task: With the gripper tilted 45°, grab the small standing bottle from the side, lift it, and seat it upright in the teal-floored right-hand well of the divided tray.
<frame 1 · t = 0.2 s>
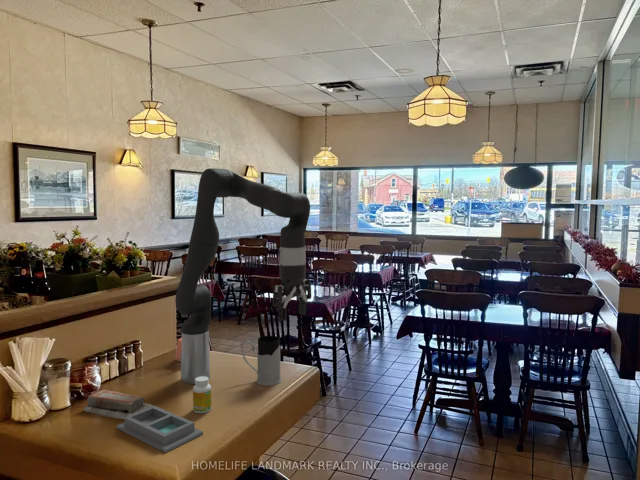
hand: (292, 317, 143), 29 cm above the counter, tool pointing down, fingers open, 8 cm apart
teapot: (192, 361, 193), on the counter
packaged product: (118, 411, 149), on the counter
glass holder: (261, 380, 172), on the counter
divided tray: (159, 431, 135), on the counter
supplement bottle: (202, 410, 149), on the counter
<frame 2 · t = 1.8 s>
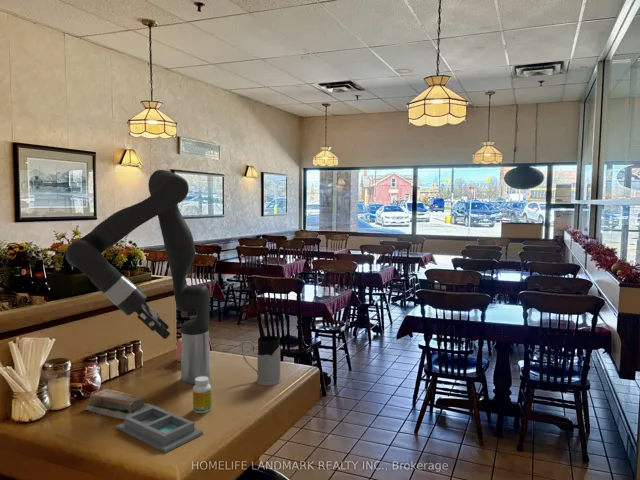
hand: (167, 332, 144), 24 cm above the counter, tool tilted 40°, fingers open, 8 cm apart
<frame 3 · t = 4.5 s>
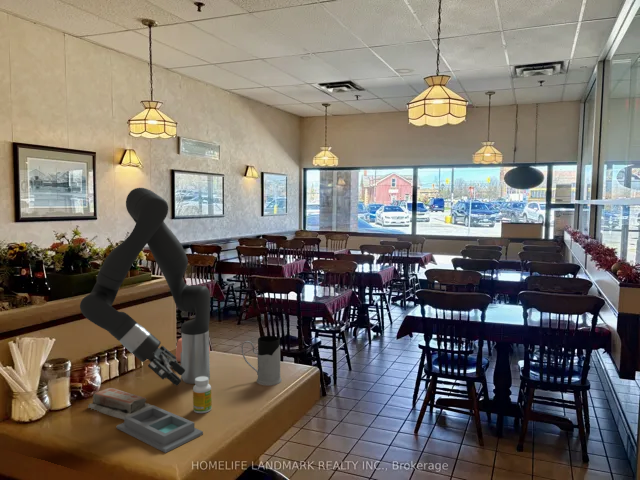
hand: (181, 377, 147), 10 cm above the counter, tool tilted 45°, fingers open, 8 cm apart
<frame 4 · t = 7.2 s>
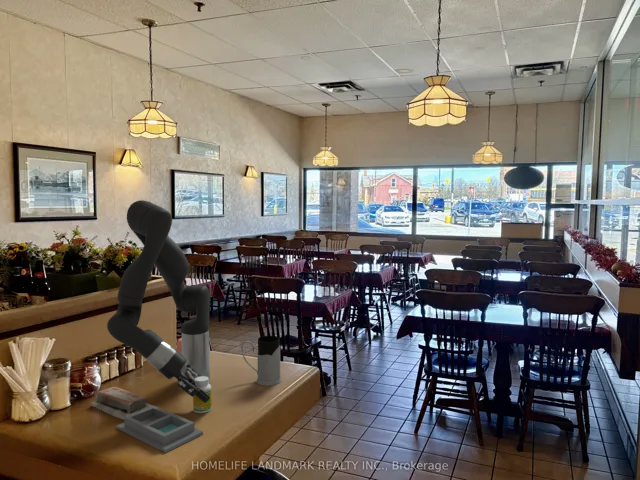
hand: (208, 395, 148), 4 cm above the counter, tool tilted 45°, fingers closed on supplement bottle, 5 cm apart
supplement bottle: (202, 410, 149), on the counter, touching gripper
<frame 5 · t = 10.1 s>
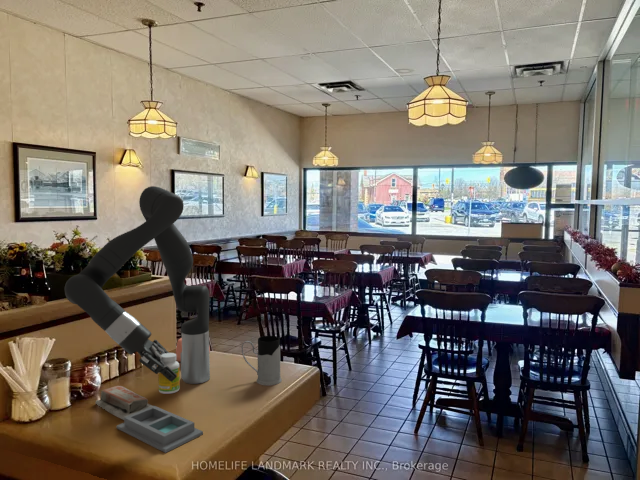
hand: (175, 374, 132), 17 cm above the counter, tool tilted 45°, fingers closed on supplement bottle, 5 cm apart
supplement bottle: (169, 391, 132), point 12 cm above the counter, touching gripper
when the fingers open (6 cm above the counter, at t = 13.0 s): supplement bottle drops 1 cm, resting on divided tray.
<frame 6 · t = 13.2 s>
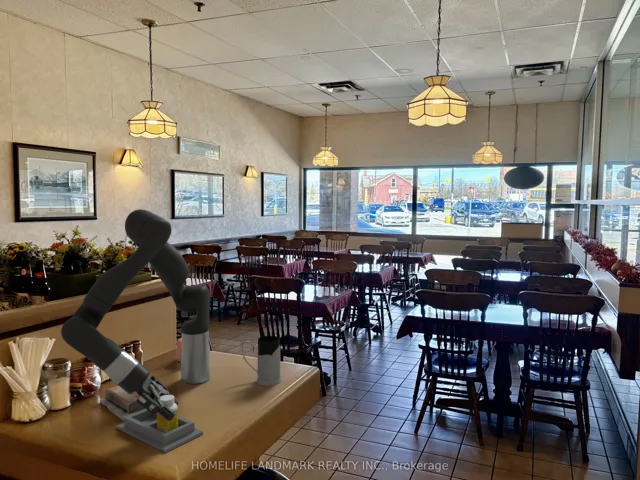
hand: (174, 411, 132), 7 cm above the counter, tool tilted 45°, fingers open, 6 cm apart
supplement bottle: (167, 433, 133), point 1 cm above the counter, touching divided tray
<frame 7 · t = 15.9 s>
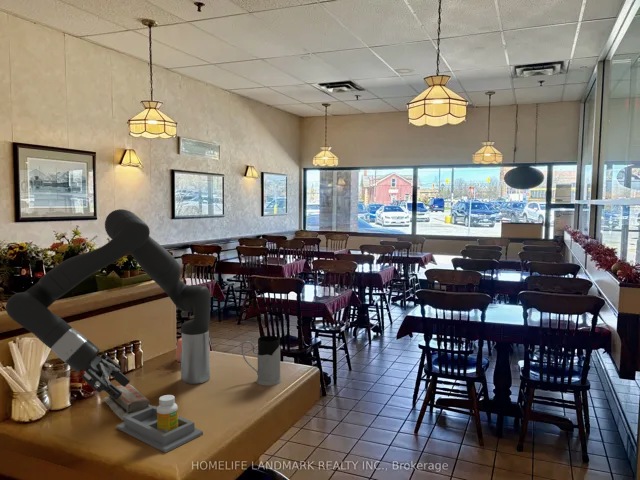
hand: (123, 390, 130), 13 cm above the counter, tool tilted 45°, fingers open, 8 cm apart
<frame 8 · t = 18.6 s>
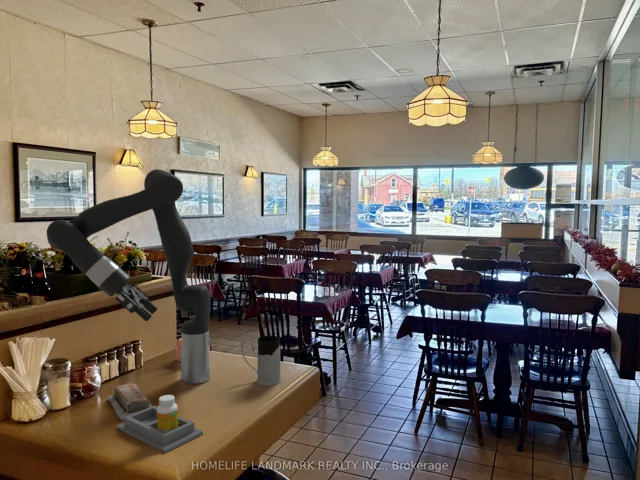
hand: (152, 315, 140), 31 cm above the counter, tool tilted 45°, fingers open, 8 cm apart
at the end: supplement bottle 0.1 cm from the target spot on the divided tray, point 0.7 cm above the divided tray's base; supplement bottle tilted 0°; the gripper is holding nothing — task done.
